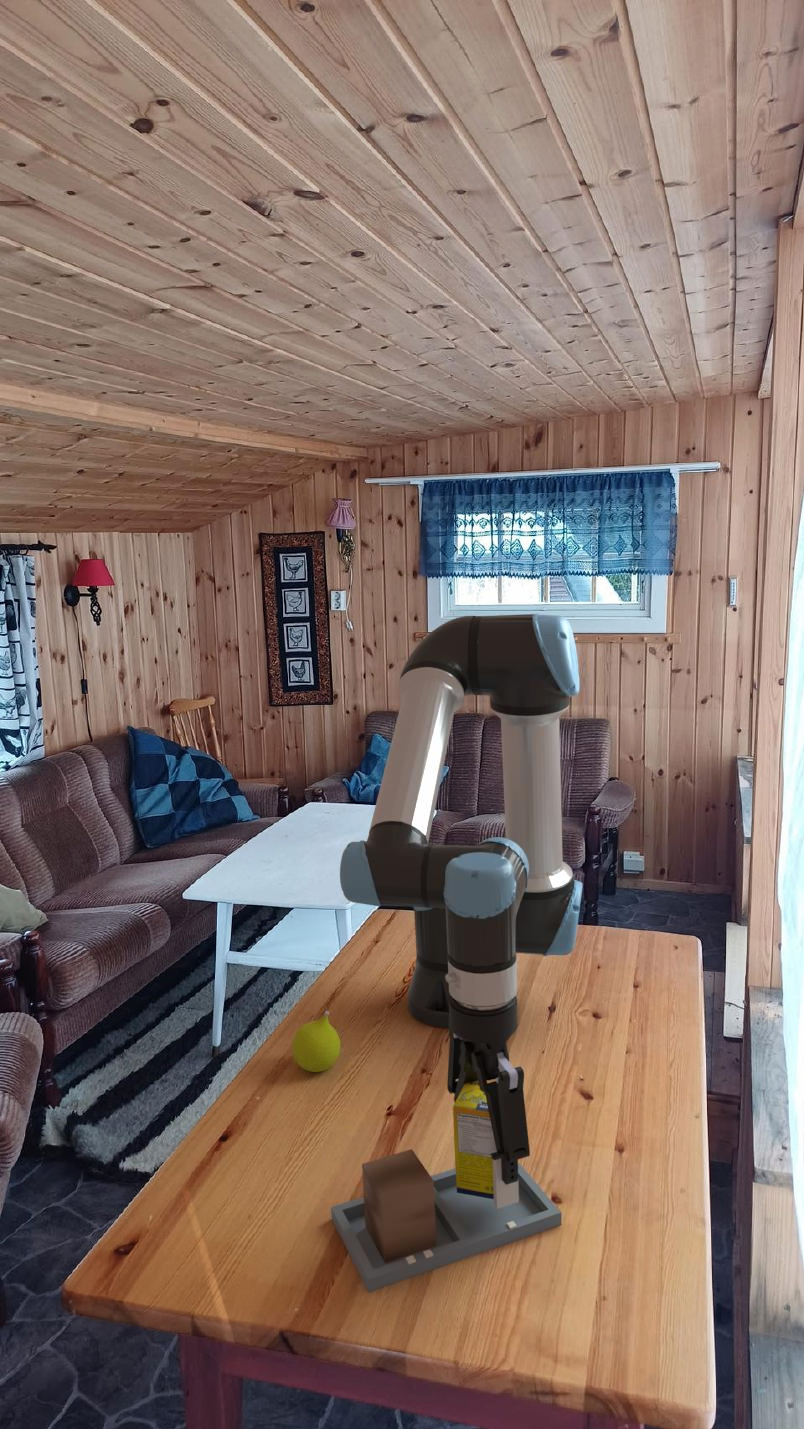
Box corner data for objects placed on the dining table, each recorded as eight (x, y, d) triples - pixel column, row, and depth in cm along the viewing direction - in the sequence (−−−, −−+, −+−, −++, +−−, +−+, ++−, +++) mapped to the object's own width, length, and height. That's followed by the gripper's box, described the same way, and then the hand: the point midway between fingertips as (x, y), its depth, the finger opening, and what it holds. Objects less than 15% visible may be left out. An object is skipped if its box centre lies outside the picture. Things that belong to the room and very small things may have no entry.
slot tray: (332, 1223, 112) (330, 1205, 111) (509, 1166, 120) (509, 1149, 120) (369, 1296, 101) (368, 1277, 101) (561, 1228, 109) (561, 1210, 109)
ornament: (351, 1069, 144) (347, 1006, 142) (311, 1087, 139) (306, 1022, 137) (323, 1050, 149) (320, 989, 147) (284, 1067, 145) (279, 1005, 143)
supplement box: (519, 1169, 114) (517, 1084, 112) (507, 1203, 108) (505, 1114, 106) (469, 1161, 116) (466, 1076, 114) (455, 1193, 110) (452, 1105, 108)
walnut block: (365, 1227, 110) (362, 1163, 109) (414, 1211, 112) (411, 1148, 111) (385, 1263, 105) (381, 1196, 103) (436, 1245, 107) (433, 1180, 105)
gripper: (413, 964, 116) (421, 1138, 120) (497, 1047, 97) (502, 1249, 101) (470, 952, 118) (475, 1121, 123) (562, 1030, 99) (565, 1227, 104)
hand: (487, 1179), depth 112 cm, fingers closed on supplement box, 8 cm apart
